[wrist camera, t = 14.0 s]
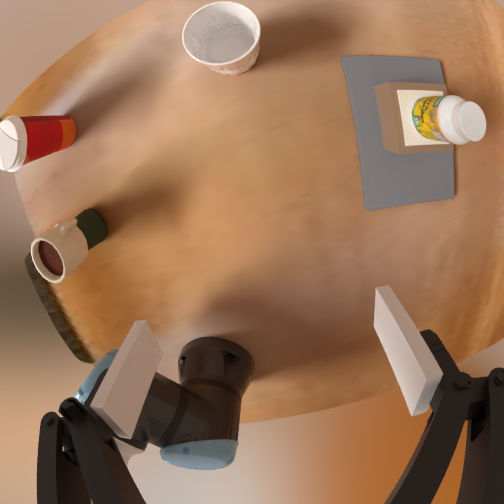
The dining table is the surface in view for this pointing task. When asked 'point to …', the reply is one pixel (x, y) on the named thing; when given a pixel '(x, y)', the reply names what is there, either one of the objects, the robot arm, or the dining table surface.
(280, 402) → the dining table surface
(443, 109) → the supplement bottle
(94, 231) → the character mug
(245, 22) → the white cup
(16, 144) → the paper cup
